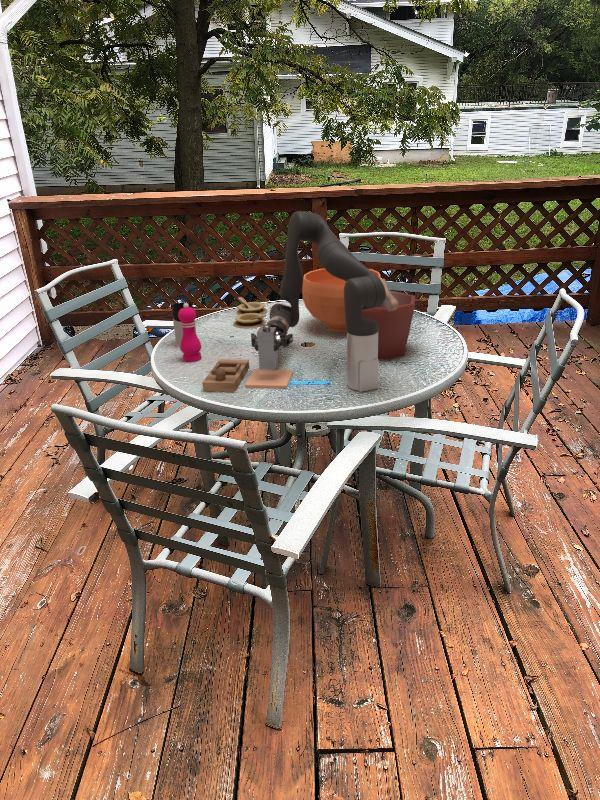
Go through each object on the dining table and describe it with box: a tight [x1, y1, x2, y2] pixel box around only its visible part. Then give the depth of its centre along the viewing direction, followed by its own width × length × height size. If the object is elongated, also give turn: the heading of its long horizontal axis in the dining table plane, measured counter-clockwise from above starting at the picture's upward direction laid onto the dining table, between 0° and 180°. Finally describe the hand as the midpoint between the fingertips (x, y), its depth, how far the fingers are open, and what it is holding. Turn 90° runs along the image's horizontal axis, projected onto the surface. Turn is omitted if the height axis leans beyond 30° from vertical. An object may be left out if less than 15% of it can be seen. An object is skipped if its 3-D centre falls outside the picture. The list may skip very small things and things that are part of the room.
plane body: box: [202, 358, 250, 393], centre depth 200 cm, size 20×10×6 cm, turn 172°
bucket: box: [362, 278, 416, 361], centre depth 213 cm, size 24×22×25 cm
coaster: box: [244, 368, 294, 389], centre depth 199 cm, size 13×13×1 cm
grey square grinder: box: [256, 324, 279, 370], centre depth 194 cm, size 5×5×13 cm
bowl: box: [301, 267, 382, 333], centre depth 241 cm, size 30×30×20 cm
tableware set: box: [229, 296, 272, 330], centre depth 262 cm, size 30×20×6 cm, turn 2°
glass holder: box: [171, 301, 197, 348], centre depth 229 cm, size 9×14×15 cm, turn 28°
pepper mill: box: [178, 303, 202, 363], centre depth 215 cm, size 7×7×20 cm
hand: (265, 348), depth 192 cm, fingers closed on grey square grinder, 5 cm apart
